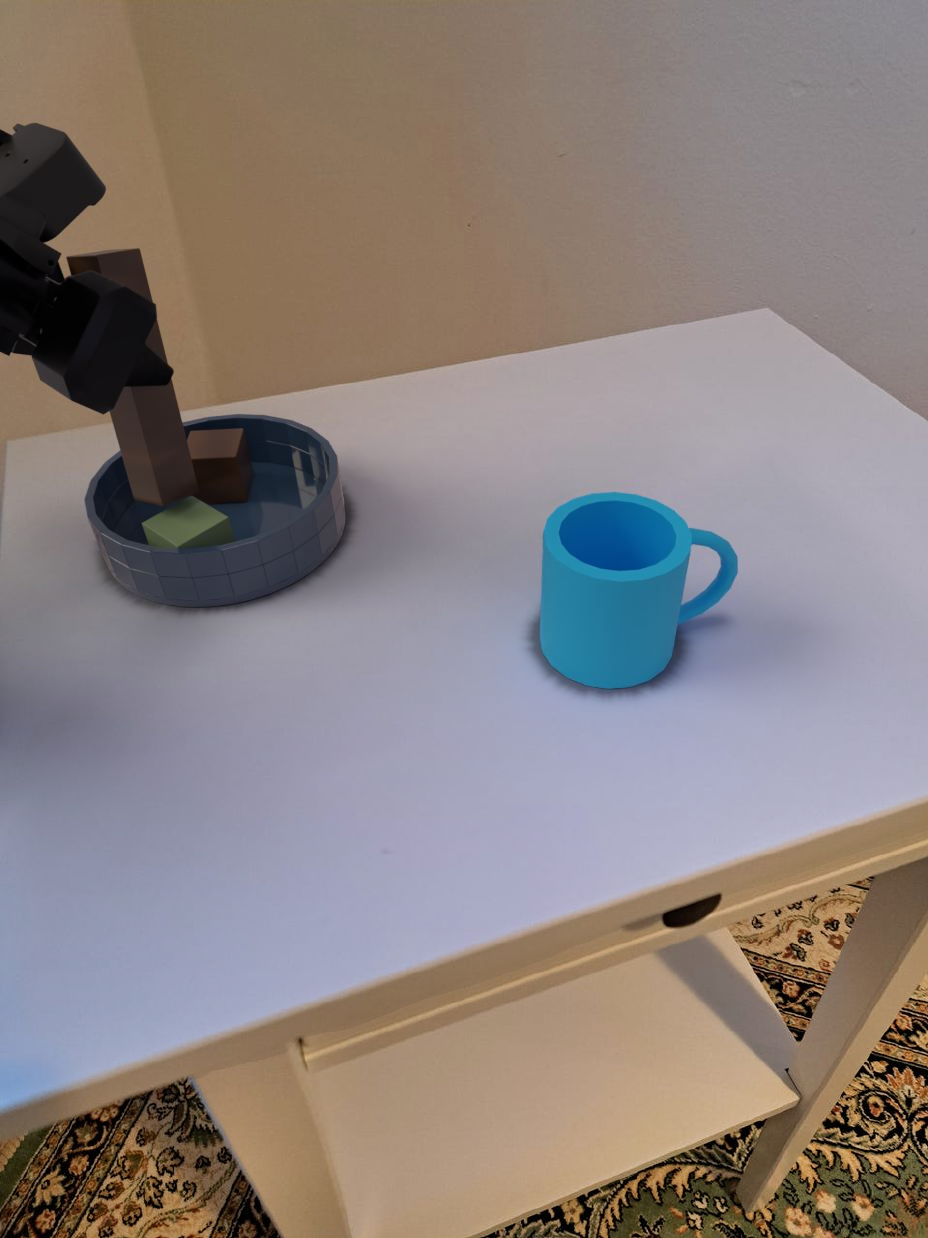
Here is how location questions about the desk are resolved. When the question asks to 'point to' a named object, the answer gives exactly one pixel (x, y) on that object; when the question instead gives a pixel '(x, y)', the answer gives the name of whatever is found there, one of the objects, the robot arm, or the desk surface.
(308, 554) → the bowl
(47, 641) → the desk surface
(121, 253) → the stick
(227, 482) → the walnut cube
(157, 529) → the sage cube
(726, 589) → the mug
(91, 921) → the desk surface
